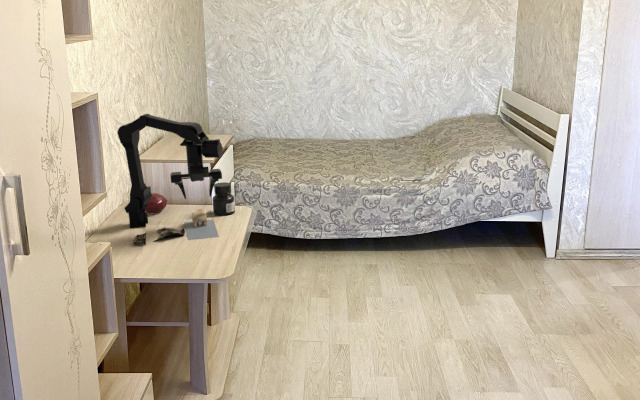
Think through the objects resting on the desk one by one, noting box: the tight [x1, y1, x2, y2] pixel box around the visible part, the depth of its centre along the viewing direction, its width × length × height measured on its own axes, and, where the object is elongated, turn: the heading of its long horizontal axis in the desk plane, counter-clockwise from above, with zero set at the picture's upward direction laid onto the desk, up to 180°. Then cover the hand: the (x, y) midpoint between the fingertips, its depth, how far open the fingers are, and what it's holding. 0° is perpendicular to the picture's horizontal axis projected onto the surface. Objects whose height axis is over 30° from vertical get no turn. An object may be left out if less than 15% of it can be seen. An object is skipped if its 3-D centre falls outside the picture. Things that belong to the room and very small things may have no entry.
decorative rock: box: [132, 227, 186, 246], centre depth 239 cm, size 19×6×15 cm
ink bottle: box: [212, 181, 236, 216], centre depth 267 cm, size 10×9×12 cm
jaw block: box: [191, 208, 208, 227], centre depth 250 cm, size 5×6×5 cm
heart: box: [145, 192, 168, 215], centre depth 271 cm, size 12×8×10 cm
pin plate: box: [184, 219, 220, 241], centre depth 245 cm, size 11×21×4 cm, turn 14°
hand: (197, 197), depth 248 cm, fingers open, 9 cm apart
